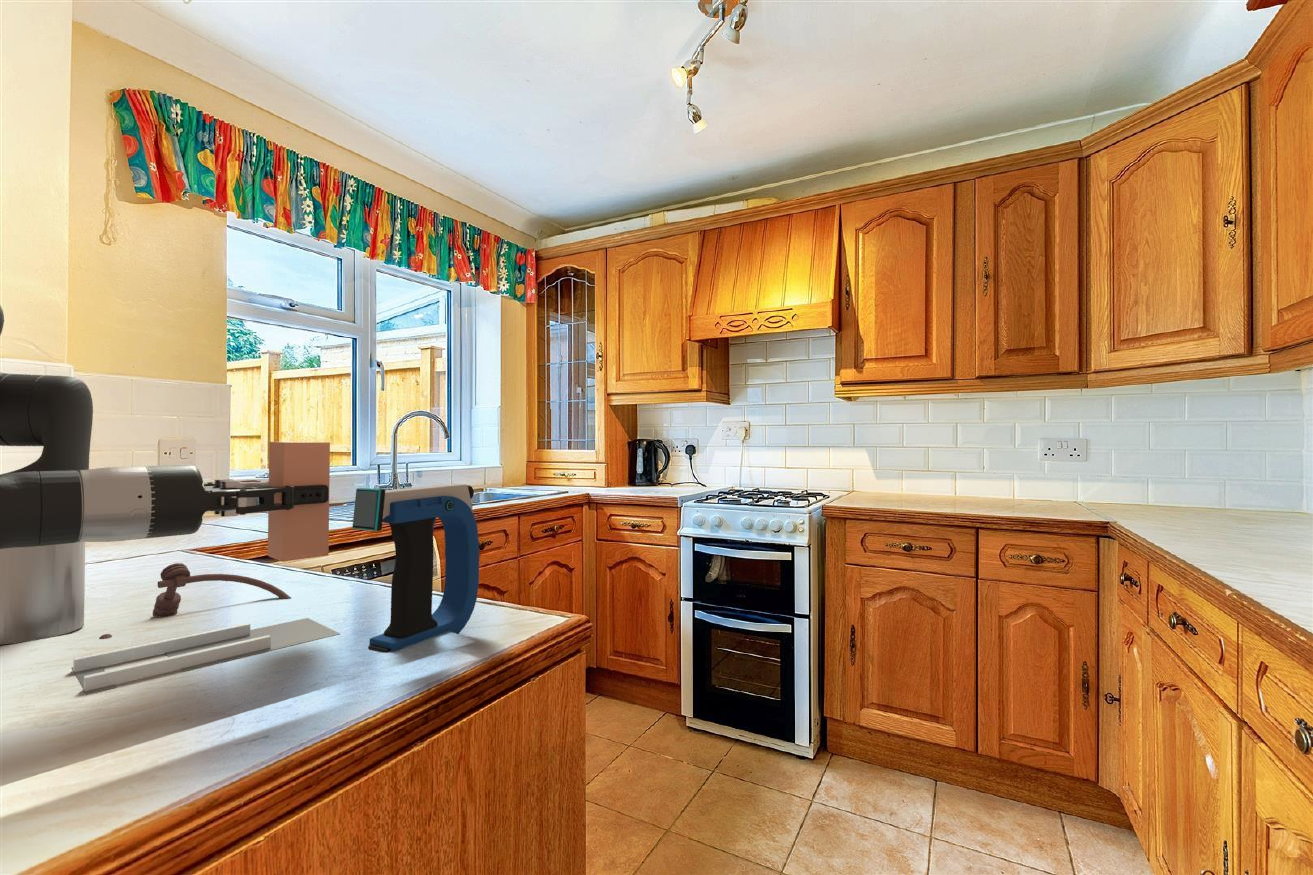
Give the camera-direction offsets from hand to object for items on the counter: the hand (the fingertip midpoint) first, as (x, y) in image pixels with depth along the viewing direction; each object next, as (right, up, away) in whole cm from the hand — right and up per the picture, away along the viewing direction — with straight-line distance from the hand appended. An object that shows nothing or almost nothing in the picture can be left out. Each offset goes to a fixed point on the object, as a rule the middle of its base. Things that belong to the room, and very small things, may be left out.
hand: (317, 491), depth 73 cm
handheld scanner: (+14, -19, -3) cm, 24 cm away
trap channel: (-6, -18, -7) cm, 21 cm away
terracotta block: (-1, -8, -2) cm, 8 cm away
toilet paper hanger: (-22, -19, +7) cm, 30 cm away
